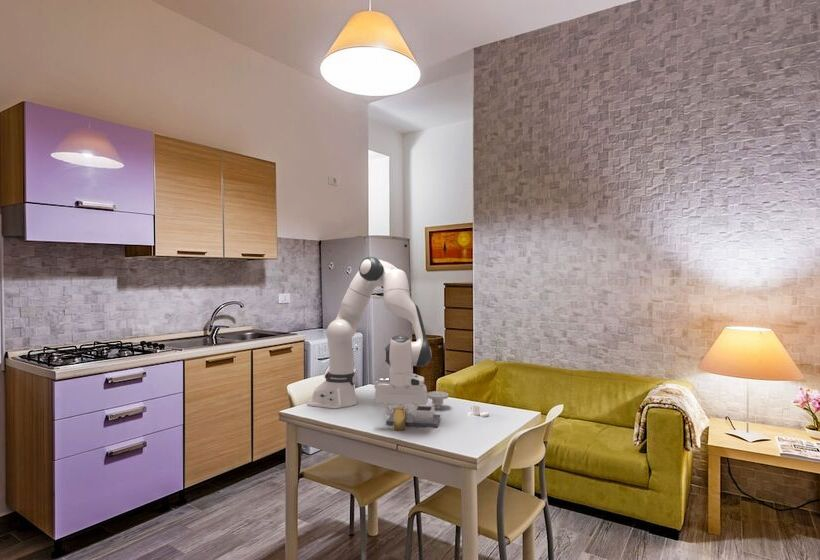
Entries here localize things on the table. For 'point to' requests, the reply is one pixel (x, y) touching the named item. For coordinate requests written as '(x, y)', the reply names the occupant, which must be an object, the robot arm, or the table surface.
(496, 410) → the table surface
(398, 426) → the cylinder
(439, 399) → the showerhead
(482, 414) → the teacup and saucer
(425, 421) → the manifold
